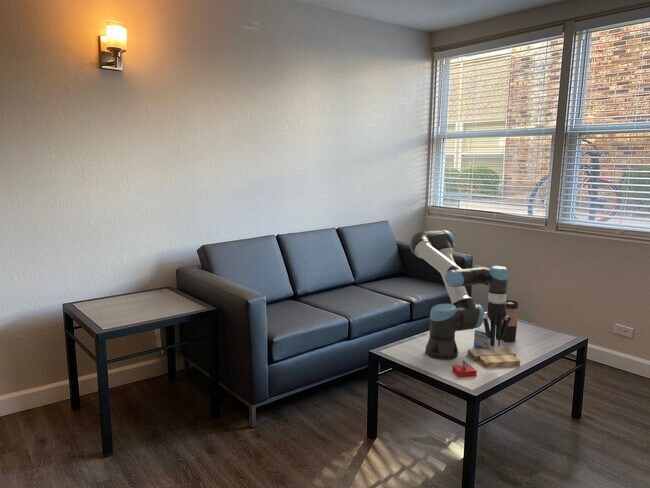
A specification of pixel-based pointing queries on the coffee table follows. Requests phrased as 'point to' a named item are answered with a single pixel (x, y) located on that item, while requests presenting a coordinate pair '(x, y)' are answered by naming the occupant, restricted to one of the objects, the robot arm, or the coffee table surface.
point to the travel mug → (511, 321)
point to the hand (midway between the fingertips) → (494, 352)
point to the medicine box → (481, 339)
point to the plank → (499, 361)
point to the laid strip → (488, 353)
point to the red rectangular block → (464, 370)
